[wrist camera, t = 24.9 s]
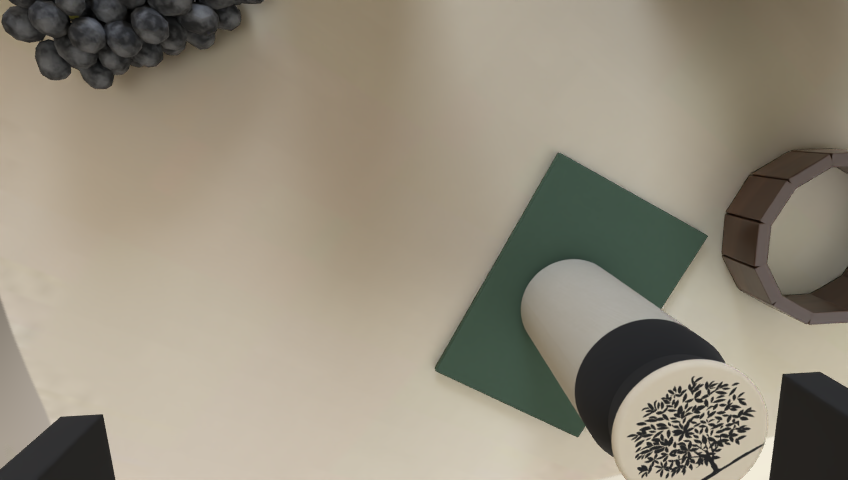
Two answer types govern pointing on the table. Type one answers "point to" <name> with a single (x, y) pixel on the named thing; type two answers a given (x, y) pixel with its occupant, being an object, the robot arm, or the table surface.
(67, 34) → the fruit
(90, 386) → the table surface
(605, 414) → the travel mug
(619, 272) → the mat
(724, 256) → the holder
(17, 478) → the robot arm
